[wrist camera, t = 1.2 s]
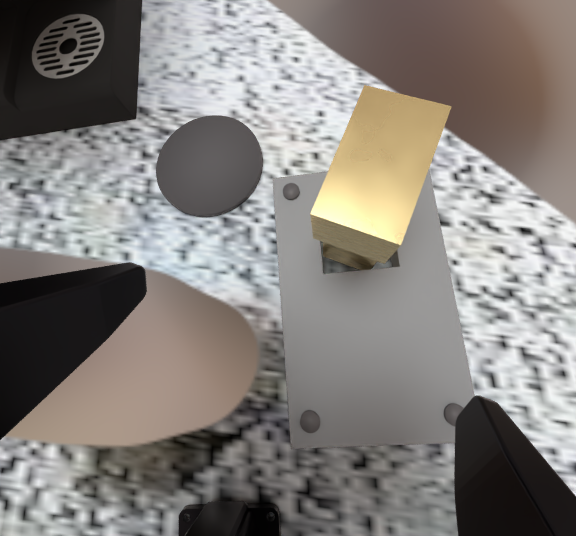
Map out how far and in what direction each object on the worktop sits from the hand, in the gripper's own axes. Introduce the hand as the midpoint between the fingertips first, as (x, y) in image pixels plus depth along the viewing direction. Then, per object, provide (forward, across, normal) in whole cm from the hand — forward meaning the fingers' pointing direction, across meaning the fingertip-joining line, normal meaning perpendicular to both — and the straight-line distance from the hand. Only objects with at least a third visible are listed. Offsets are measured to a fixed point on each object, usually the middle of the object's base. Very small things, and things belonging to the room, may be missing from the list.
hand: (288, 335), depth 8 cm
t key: (+15, -1, +3) cm, 16 cm away
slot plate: (+13, -2, +6) cm, 14 cm away
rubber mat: (+17, +13, +1) cm, 21 cm away
